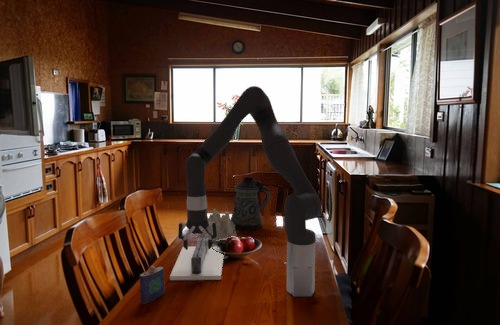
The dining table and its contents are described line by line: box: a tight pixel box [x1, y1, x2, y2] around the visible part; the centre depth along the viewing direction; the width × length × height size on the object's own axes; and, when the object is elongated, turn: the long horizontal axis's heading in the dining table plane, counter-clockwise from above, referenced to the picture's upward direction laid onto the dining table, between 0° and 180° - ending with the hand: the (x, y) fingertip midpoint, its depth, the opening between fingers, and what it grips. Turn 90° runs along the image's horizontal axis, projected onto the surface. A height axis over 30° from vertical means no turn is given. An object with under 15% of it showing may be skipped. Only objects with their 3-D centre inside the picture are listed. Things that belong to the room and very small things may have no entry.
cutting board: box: [169, 245, 225, 281], centre depth 154 cm, size 30×18×2 cm, turn 1°
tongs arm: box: [192, 236, 203, 258], centre depth 154 cm, size 22×2×5 cm, turn 1°
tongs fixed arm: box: [191, 237, 208, 274], centre depth 153 cm, size 26×4×5 cm, turn 1°
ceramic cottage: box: [200, 208, 238, 242], centre depth 187 cm, size 16×16×15 cm
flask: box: [139, 265, 166, 305], centre depth 125 cm, size 9×3×11 cm, turn 144°
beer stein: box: [230, 177, 271, 231], centre depth 202 cm, size 16×19×25 cm
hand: (198, 248), depth 148 cm, fingers open, 8 cm apart
